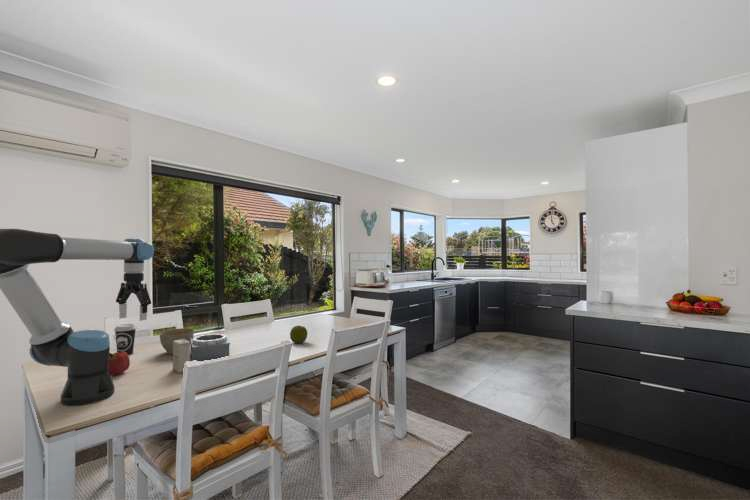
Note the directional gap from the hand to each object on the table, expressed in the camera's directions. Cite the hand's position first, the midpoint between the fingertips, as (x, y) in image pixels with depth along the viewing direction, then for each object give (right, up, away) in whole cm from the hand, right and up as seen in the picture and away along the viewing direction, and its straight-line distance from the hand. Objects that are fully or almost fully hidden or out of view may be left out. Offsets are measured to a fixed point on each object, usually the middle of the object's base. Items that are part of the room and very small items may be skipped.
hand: (132, 319), depth 158 cm
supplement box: (+24, -23, -3) cm, 33 cm away
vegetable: (-2, -22, -8) cm, 24 cm away
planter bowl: (+5, -23, +26) cm, 35 cm away
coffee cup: (-19, -23, +21) cm, 36 cm away
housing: (+26, -23, +19) cm, 39 cm away
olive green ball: (+66, -23, +46) cm, 83 cm away
